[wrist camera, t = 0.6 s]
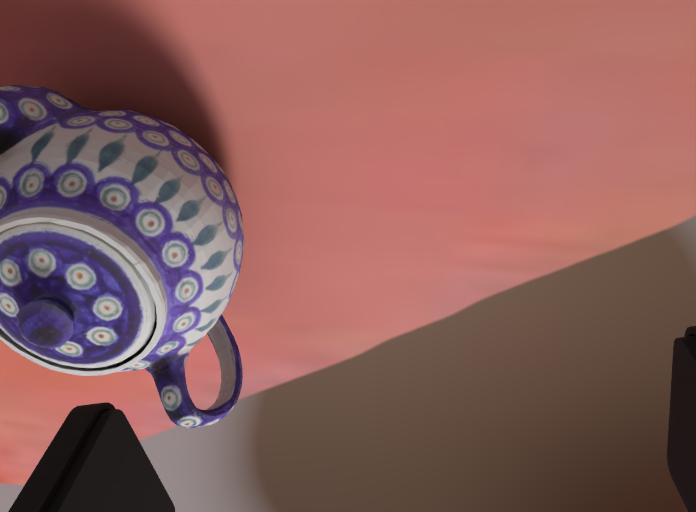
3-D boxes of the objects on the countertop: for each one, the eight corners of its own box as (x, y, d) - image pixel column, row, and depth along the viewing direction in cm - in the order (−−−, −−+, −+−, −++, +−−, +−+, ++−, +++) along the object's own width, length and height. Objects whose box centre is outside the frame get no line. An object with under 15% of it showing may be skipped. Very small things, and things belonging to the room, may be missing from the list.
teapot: (335, 296, 44) (313, 460, 31) (167, 365, 49) (87, 533, 36) (119, -43, 34) (-49, -5, 21) (-72, 84, 38) (-309, 180, 25)
